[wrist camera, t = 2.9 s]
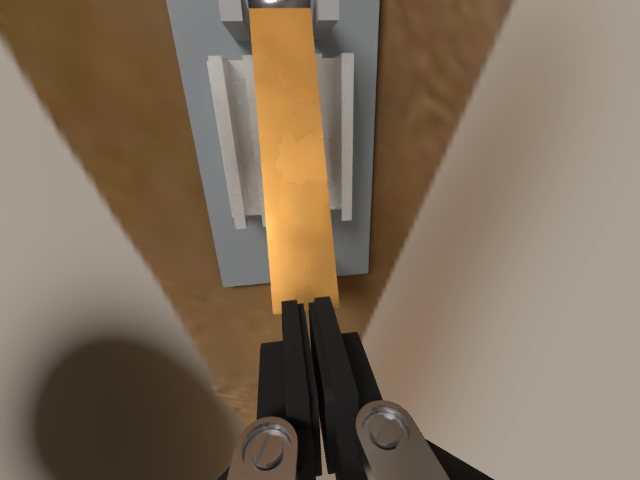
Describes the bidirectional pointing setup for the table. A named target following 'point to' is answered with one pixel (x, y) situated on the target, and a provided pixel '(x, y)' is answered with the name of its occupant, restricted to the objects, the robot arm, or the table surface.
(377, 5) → the cpu board
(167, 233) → the table surface
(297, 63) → the strap
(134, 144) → the table surface
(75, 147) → the table surface
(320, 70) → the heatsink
